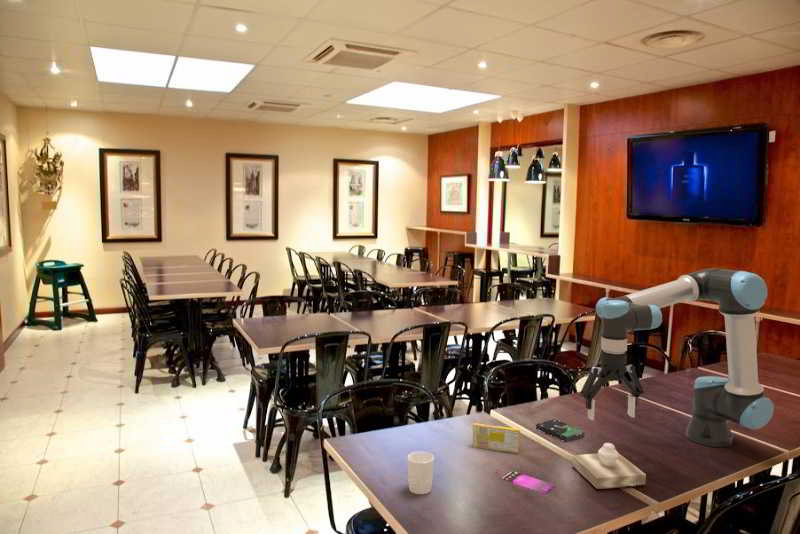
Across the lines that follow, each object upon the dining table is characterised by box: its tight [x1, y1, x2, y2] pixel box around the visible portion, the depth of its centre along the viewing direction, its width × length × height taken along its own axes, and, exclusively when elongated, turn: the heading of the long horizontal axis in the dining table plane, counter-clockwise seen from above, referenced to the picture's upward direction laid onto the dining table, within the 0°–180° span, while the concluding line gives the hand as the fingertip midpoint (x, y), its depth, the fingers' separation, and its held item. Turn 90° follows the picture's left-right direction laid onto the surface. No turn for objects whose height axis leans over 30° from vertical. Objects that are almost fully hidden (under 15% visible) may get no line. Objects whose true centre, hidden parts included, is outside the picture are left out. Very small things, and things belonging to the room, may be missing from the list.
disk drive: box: [535, 418, 586, 443], centre depth 215 cm, size 10×3×15 cm
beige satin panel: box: [571, 452, 647, 490], centre depth 181 cm, size 16×16×4 cm
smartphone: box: [500, 470, 556, 495], centre depth 177 cm, size 7×15×1 cm, turn 49°
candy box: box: [471, 422, 521, 454], centre depth 200 cm, size 16×2×8 cm, turn 71°
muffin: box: [597, 442, 620, 467], centre depth 180 cm, size 6×6×7 cm
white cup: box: [406, 451, 435, 495], centre depth 171 cm, size 8×8×10 cm
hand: (611, 417), depth 179 cm, fingers open, 13 cm apart
